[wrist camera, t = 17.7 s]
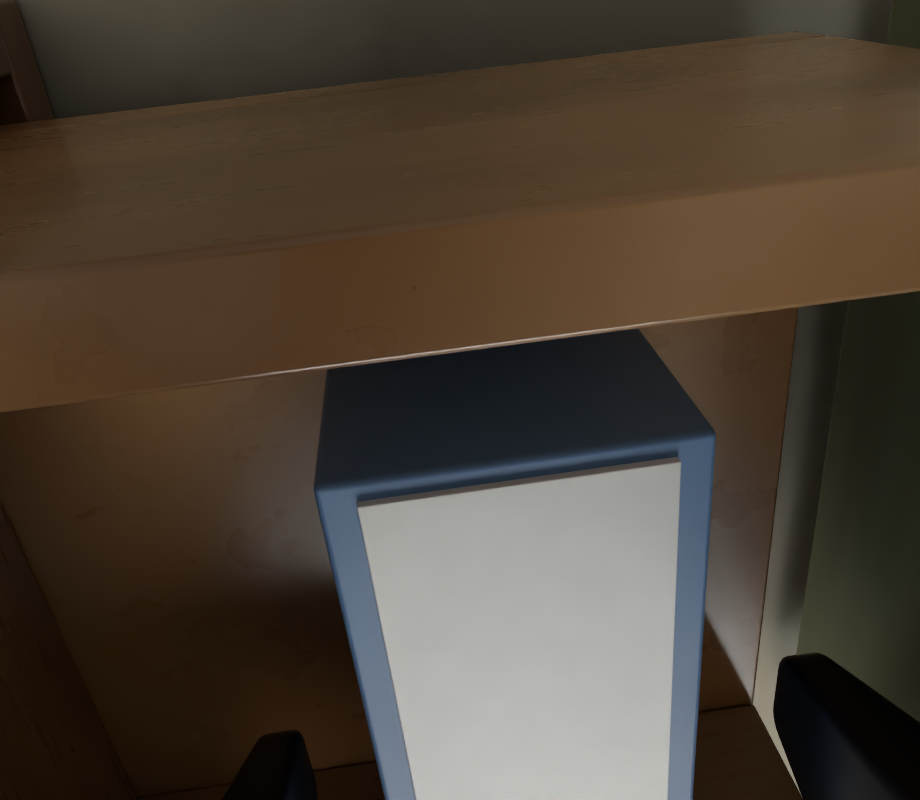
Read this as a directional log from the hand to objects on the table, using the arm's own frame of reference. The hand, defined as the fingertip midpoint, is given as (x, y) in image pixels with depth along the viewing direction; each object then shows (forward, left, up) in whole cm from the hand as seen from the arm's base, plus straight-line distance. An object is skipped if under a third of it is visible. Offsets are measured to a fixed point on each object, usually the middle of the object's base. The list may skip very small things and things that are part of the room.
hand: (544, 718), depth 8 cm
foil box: (0, 0, -4) cm, 4 cm away
